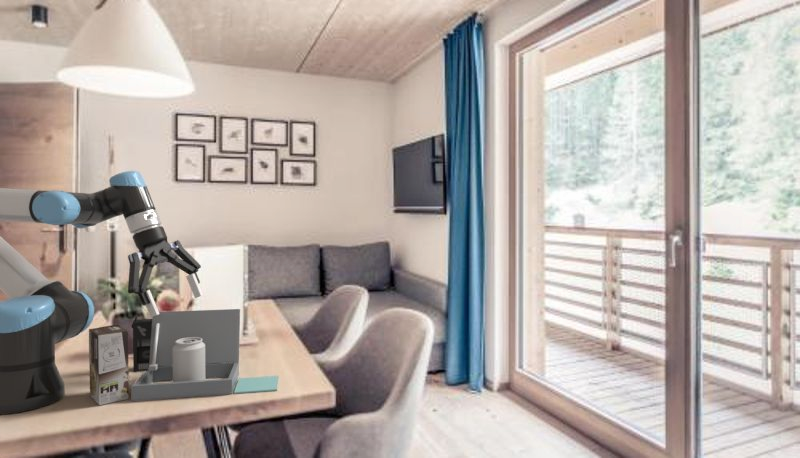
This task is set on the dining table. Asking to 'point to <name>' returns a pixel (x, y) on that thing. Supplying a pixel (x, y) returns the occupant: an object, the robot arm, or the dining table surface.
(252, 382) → the pad
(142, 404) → the dining table surface
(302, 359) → the dining table surface
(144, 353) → the geiger counter
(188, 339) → the can
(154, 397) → the case
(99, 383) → the coffee box
